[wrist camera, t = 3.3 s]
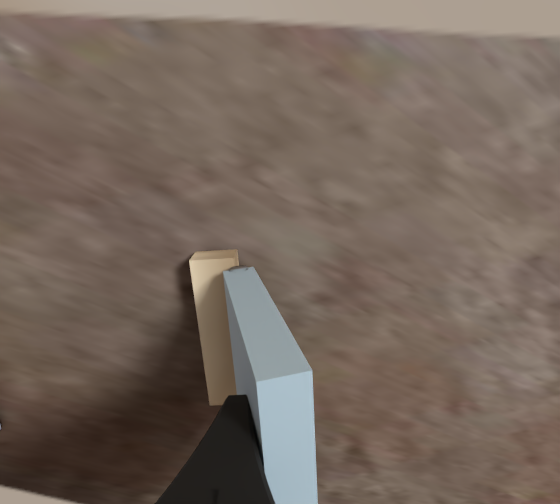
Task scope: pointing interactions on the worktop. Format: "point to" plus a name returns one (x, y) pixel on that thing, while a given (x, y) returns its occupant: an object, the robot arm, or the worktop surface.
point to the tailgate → (273, 387)
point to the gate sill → (214, 320)
